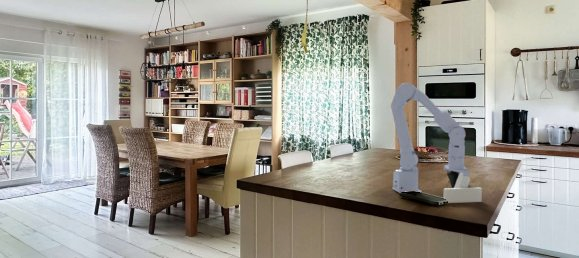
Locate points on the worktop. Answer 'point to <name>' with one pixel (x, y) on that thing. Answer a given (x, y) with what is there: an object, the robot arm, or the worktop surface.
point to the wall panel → (463, 195)
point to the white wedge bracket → (462, 181)
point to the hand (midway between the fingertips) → (455, 191)
